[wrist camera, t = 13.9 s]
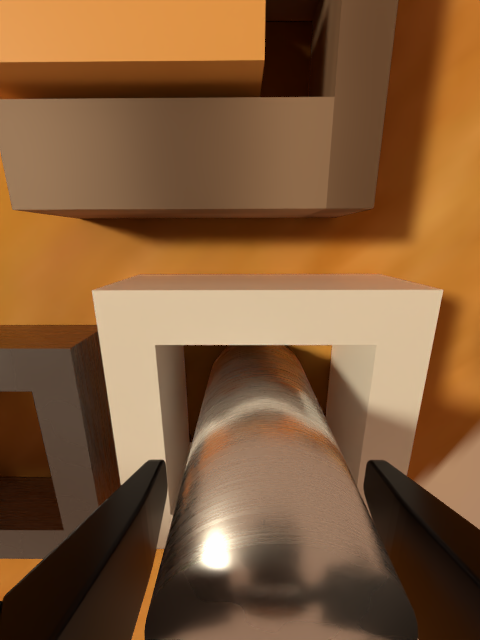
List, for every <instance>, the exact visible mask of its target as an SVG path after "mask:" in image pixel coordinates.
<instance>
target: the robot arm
mask: <svg viewBox="0 0 480 640" xmlns="http://www.w3.org/2000/svg"><path fill="white" fill-rule="evenodd" d="M363 490H364V495H365V498H366V502H367V505H368V508H369V511H370V514H371V517H372V520H373V523H374V525H375V527H376V529H377V531H378V534H379V536H380V538H381V540H382V542H383V544H384V547H385V549H386V551H387V553H388V555H389V558H390V560H391V562H392V564H393V566H394V568H395V571H396V573H397V575H398V577H399V579H400V582H401V584H402V586H403V588H404V590H405V592H406V595H407V597H408V599H409V601H410V603H411V606H412V608H413V610H414V612H415V616H416V620H417V624H418V639H419V640H480V530H479V529H478V528H477V527H475V526H474V525H473V524H471V523H470V522H469V521H467V520H466V519H464V518H463V517H462V516H460V515H459V514H458V513H456V512H455V511H454V510H452V509H451V508H449V507H448V506H447V505H445V504H444V503H443V502H441V501H440V500H439V499H437V498H436V497H435V496H433V495H432V494H430V493H429V492H428V491H426V490H425V489H424V488H422V487H421V486H420V485H418V484H417V483H416V482H414V481H413V480H412V479H410V478H409V477H407V476H406V475H405V474H403V473H402V472H401V471H399V470H398V469H397V468H395V467H394V466H393V465H391V464H390V463H388V462H387V461H385V460H369V461H368V462H367V464H366V470H365V477H364V484H363ZM167 491H168V483H167V472H166V463H165V461H164V460H162V459H151V460H148V461H147V462H145V463H144V464H143V465H142V466H141V467H140V468H139V469H138V470H137V471H136V472H135V473H134V474H133V475H132V476H131V477H130V478H128V479H127V480H126V481H125V482H124V483H123V484H122V485H121V486H120V487H119V488H118V489H117V490H116V491H115V492H114V493H113V494H112V495H111V496H109V497H108V498H107V499H106V500H105V501H104V502H103V503H102V504H101V505H100V506H99V507H98V508H97V509H96V510H95V511H94V512H93V513H92V514H90V515H89V516H88V517H87V518H86V519H85V520H84V521H83V522H82V523H81V524H80V525H79V526H78V527H77V528H76V529H75V530H74V531H73V532H71V533H70V534H69V535H68V536H67V537H66V538H65V539H64V540H63V541H62V542H61V543H60V544H59V545H58V546H57V547H56V548H55V549H53V550H52V551H51V552H50V553H49V554H48V555H47V556H46V557H45V558H44V559H43V560H42V561H41V562H40V563H39V564H38V565H37V566H36V567H34V568H33V569H32V570H31V571H30V572H29V573H28V574H27V575H26V576H25V577H24V578H23V579H22V580H21V581H20V582H19V583H18V584H17V585H15V586H14V587H13V588H12V589H11V590H10V591H9V592H8V593H7V594H6V595H5V596H4V598H3V601H0V640H131V639H132V635H133V632H134V629H135V625H136V622H137V618H138V615H139V612H140V608H141V605H142V602H143V598H144V595H145V591H146V588H147V585H148V581H149V578H150V574H151V570H152V567H153V562H154V558H155V553H156V548H157V543H158V538H159V533H160V528H161V523H162V518H163V513H164V508H165V503H166V498H167Z"/></svg>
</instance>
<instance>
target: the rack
mask: <svg viewBox="0 0 480 640" xmlns="http://www.w3.org/2000/svg"><path fill="white" fill-rule="evenodd" d="M92 294H93V301H94V308H95V314H96V321H97V328H98V335H99V341H100V348H101V355H102V362H103V368H104V375H105V382H106V388H107V395H108V402H109V409H110V415H111V422H112V429H113V436H114V442H115V449H116V456H117V462H118V469H119V476H120V483H121V485H122V484H123V483H124V482H125V481H126V480H127V479H128V478H130V477H131V476H132V475H133V474H134V473H135V472H136V471H137V470H138V469H139V468H140V467H141V466H142V465H143V464H144V463H145V462H147V461H148V460H151V459H162V460H164V461H165V463H166V472H167V483H168V491H167V498H166V503H165V508H164V513H163V518H162V523H161V528H160V533H159V538H158V543H157V548H156V549H165V545H166V541H167V538H168V534H169V530H170V526H171V522H172V518H173V514H174V511H175V507H176V503H177V499H178V495H179V491H180V487H181V484H182V480H183V476H184V472H185V468H186V464H187V460H188V457H189V453H190V449H191V445H192V442H190V439H189V423H188V407H187V391H186V374H185V358H184V345H332V353H331V364H330V375H329V386H328V397H327V407H326V420H327V422H328V424H329V427H330V429H331V431H332V433H333V435H334V437H335V440H336V442H337V444H338V446H339V448H340V451H341V453H342V455H343V457H344V459H345V461H346V464H347V466H348V468H349V470H350V472H351V475H352V477H353V479H354V481H355V483H356V485H357V488H358V490H359V492H360V494H361V496H362V499H363V501H364V503H365V505H366V507H367V510H368V512H369V514H370V511H369V508H368V505H367V502H366V498H365V495H364V490H363V484H364V477H365V470H366V464H367V462H368V461H369V460H385V461H387V462H388V463H390V464H391V465H393V466H394V467H395V468H397V469H398V470H399V471H401V472H402V473H403V474H405V475H406V476H407V472H408V467H409V462H410V457H411V452H412V447H413V442H414V436H415V431H416V426H417V421H418V416H419V411H420V406H421V401H422V396H423V391H424V386H425V381H426V376H427V370H428V365H429V360H430V355H431V350H432V345H433V340H434V335H435V330H436V325H437V320H438V315H439V309H440V304H441V299H442V294H443V290H442V289H438V288H434V287H430V286H426V285H422V284H418V283H414V282H410V281H406V280H402V279H397V278H393V277H389V276H385V275H381V274H140V275H137V276H134V277H131V278H128V279H125V280H122V281H119V282H116V283H113V284H110V285H107V286H104V287H101V288H98V289H95V290H92ZM370 516H371V514H370ZM371 518H372V517H371Z"/></svg>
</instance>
